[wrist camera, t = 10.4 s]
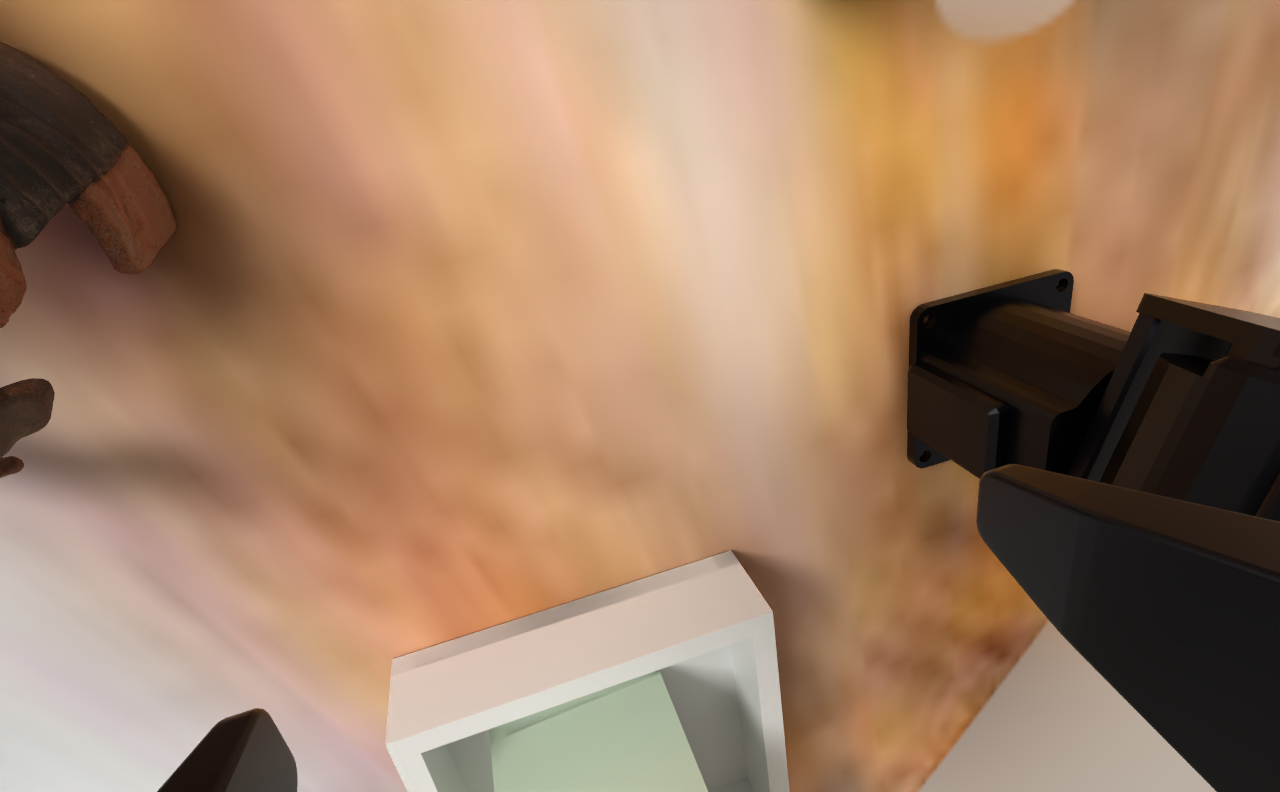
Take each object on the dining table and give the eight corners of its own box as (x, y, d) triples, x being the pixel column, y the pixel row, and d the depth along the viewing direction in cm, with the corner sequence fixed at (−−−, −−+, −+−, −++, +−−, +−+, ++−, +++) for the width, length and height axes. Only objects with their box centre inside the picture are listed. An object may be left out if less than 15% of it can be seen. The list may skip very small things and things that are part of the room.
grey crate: (731, 550, 25) (772, 611, 22) (757, 767, 30) (794, 841, 27) (392, 659, 23) (385, 745, 20) (485, 873, 28) (491, 967, 25)
